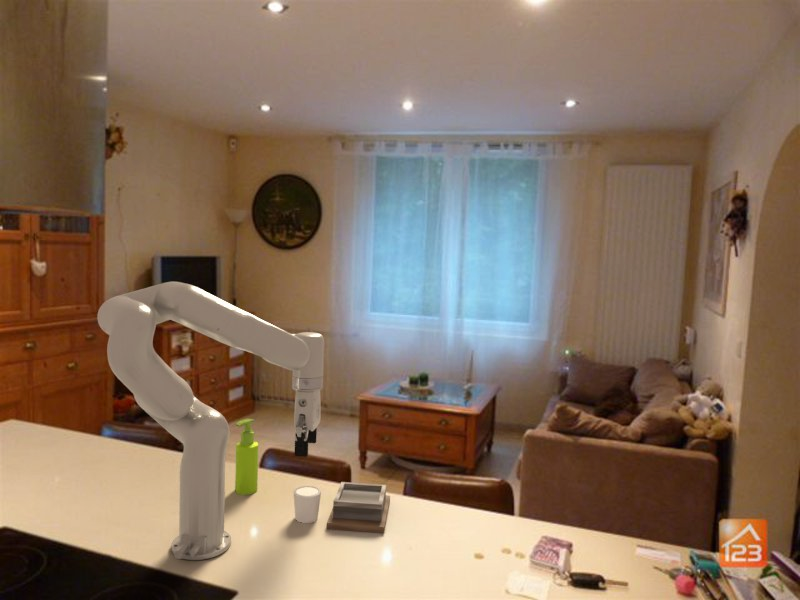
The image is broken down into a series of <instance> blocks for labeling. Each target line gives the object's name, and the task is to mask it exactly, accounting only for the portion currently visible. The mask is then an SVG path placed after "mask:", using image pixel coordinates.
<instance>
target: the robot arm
mask: <svg viewBox="0 0 800 600" xmlns="http://www.w3.org/2000/svg"><path fill="white" fill-rule="evenodd" d="M170 320H171V321H172V322H175V323H178V324H180V325H181V326H184V327H186V328H188V329H190V330H193V331H195V332H197V333H200V334H202V335H204V336H206V337H209V338H211V339H212V340H214V341H217V342H219V343H222V344H224V345H226V346H229V347H231V348H233V349H236V350H241V351H245V352H248V353H251V354H253V355H256V356H258V357H260V358H262V359H263V360H264V361H265V362H267V363H269V364H272V365H275V366H278V367H280V368H282V369H286V370H288V371H292V375H291V376H292V377H291V379H292V380H291V381H292V382H291V383H292V384H291V389H292V390H293V391H295V397H294V413H293V426H294V427H293V428H294V430H295V434H294V435H295V436H294V457H303V458H306V457H308V456H309V444H316V443H317V434H318V432H317V431H318V426H319V424H320V423H321V420H322V418H321V417H322V416H321V415H322V414H321V413H322V411H321V410H322V408H321V406H322V405H321V404H322V403H321V399H322V398H321V390H323V389H324V384H323V383H324V359H325V358H324V357H325V356H324V355H325V354H324V353H325V352H324V351H325V339H324V336H323V334H321V333H318V332H312V331H311V332H310V331H309V332H307V331H305V332H304V331H303V332H298V333H290V332H288V331H286V330H285V329H282V328H280V327H278V326H276V325H273V324H271V323H270V322H268V321H265V320H263V319H261V318H260V317H257V315H254V314H252V313H250V312H248V311H245V310H244V309H241V308H240V307H237V306H235V305H233V304H231V303H229V302H227V301H225V300H223V299H222V298H220V297H218V296H216V295H214V294H211V293H210V292H207V291H205V290H204V289H202V288H200V287H199V286H195V285H193V284H189V283H185V282H181V281H167V282H161V283H159V284H156V285H152V286H148V287H145V288H141V289H138V290H134V291H130V292H126V293H122V294H119V295H116V296H113V297H110V298H109V299H106V301H105V302H103V303H102V304H101V306H100V307H99V309H98V312H97V324H98V326H99V327H100V329H101V330H102V331H103V332H104V333H105V334H106V335H108V336H109V337H108V341H107V348H106V353H107V354H106V355H107V356H106V357H107V362H108V365H109V368H110V370H111V371H112V373H113V374H114V375H115V377H116V378H117V380H119V381H120V382H121V383H122V384H123V385H124V386H125V387H126V388H127V389H128V390H129V391H130V392H131V393H132V394H133V397H134V400H135V402H136V404H137V405H138V406H139V407H140V408H141V409H142V410H143V411H144V412H145V413H146V414H147V415H149V417H151V418H152V419H153V420H155V422H157V424H159V425H160V426H161V427H162V428H163V429H164V430H166V431H167V432H168V433H169V434H170V435H171V436H172V437H174V438H175V439H176V440H178V441H179V442H180V443H182V445H183V450H182V451H183V452H182V456H181V459H180V460H181V461H180V465H179V520H178V521H179V523H178V524H179V529H178V530H179V531H178V532H179V533H178V536H177V537H175V538H174V540H173V541H172V543H171V552H172V553H173V557H174V558H175V559H177V560H182V559H183V560H188V561H201V560H207V559H211V558H215V557H217V556H220V555H222V554H223V553H225V552H226V551H227V550H228V549H229V548H230V547H231V544H232V537H231V535H230V534H229V532H227V531H226V530H225V501H226V500H225V495H226V491H225V490H226V489H225V488H226V457H227V451H228V450H227V449H228V447H229V446H228V445H229V441H230V426H229V423H228V420H227V419H226V418H225V416H224V415H223V414H222V413H221V412H219V411H218V410H216V409H214V408H213V407H211V406H209V405H208V404H205V403H203V402H202V401H200V400H199V399H198V398H197V397H196V396H195V395H194V392H193V390H192V388H191V386H190V385H189V384H188V381H186V380H185V379H184V378H182V377H181V376H179V375H178V374H177V372H175V371H174V370H173V369H172V368H171V367H170V365H168V364H167V363H166V362H165V361H164V360H163V359H162V357H161V356H159V354H158V353H157V352H156V350H155V348H154V343H153V341H154V336H155V331H156V327H157V325H158V324H161V323H164V322H167V321H170Z"/></svg>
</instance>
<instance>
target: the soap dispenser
mask: <svg viewBox="0 0 800 600" xmlns="http://www.w3.org/2000/svg"><path fill="white" fill-rule="evenodd" d="M254 421H255V419H254V418H253V419H252V418H245V419H241V420H239V421H237V422H236V423H235V424H234V425H235V426H237V427H242V426H244V429H243V430H242V431H241V432H240V441H239V442H237V443H236V444H235V483H234V484H235V486H234V490H235V493H236V494H238V495H243V496H246V495H252V494H255V493H257V492H258V477H259V475H258V474H259V473H258V472H259V470H258V469H259V464H258V463H259V443H258V442H257V441H255V440H254V439H255V435H254V434H255V431H254V430H252V423H253V422H254Z"/></svg>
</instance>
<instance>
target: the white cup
mask: <svg viewBox="0 0 800 600" xmlns="http://www.w3.org/2000/svg"><path fill="white" fill-rule="evenodd" d="M321 495H322V490H321V489H320V488H319V487H317V486H313V485H312V486H311V485H303V486H299V487H297V488H294V490H293V504H294V519H296V520H297V521H296V520H295V521H296V522H299V523H300V522H302V523H301V524H311V523H314V522H316V521H317V520H319V519H318V518H319V510H320V504H321V503H320V502H321Z"/></svg>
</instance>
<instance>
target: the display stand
mask: <svg viewBox="0 0 800 600" xmlns="http://www.w3.org/2000/svg"><path fill="white" fill-rule="evenodd" d="M386 493H387V484H380V483H379V484H377V483H366V482H365V483H363V482H349V481H348V482H347V481H341V482H340V485H339V487H338V489H337V492H336V494H335V497H334V499H333V506H332V508H331V511H330V514H329V516H328V518H327V521H326V530H332V531H334V530H335V531H336V530H337V531H349V532H364V533H375V534H377V533H378V534H385V529H386V524H387V520H388V519H387V518H388V514H389V507H390V503H391V495H387V494H386Z"/></svg>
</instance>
